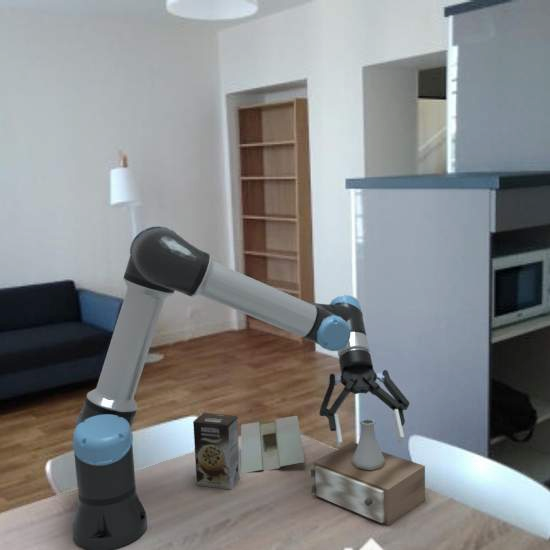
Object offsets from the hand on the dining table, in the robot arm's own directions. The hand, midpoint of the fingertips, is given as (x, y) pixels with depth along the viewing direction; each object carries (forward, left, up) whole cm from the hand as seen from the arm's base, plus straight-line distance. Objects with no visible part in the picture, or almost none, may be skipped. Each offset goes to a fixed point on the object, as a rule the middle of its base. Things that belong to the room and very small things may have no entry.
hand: (370, 441), depth 142 cm
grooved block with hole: (-32, +1, -15) cm, 35 cm away
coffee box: (-34, -15, -14) cm, 40 cm away
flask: (-2, +2, -6) cm, 7 cm away
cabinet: (-2, +2, -14) cm, 14 cm away
